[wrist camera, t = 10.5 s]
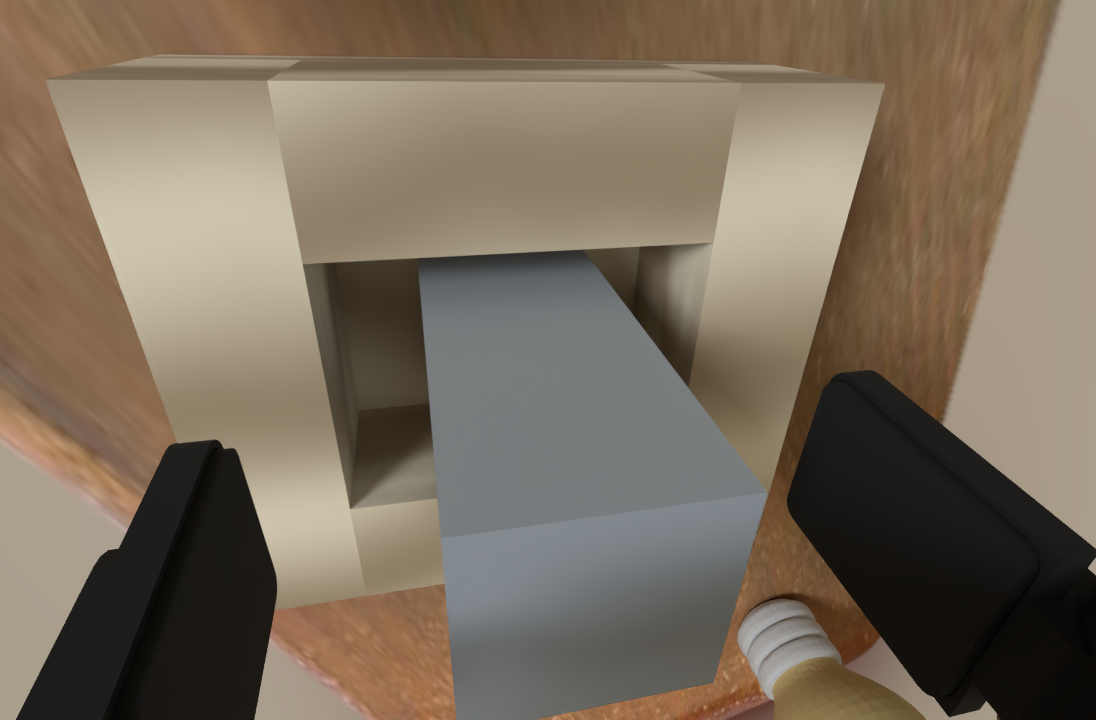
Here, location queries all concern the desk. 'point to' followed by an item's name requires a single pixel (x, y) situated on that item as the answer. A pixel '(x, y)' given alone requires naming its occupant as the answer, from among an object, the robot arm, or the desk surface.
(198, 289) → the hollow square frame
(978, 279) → the desk surface
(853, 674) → the light bulb
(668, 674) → the grey rectangular prism
